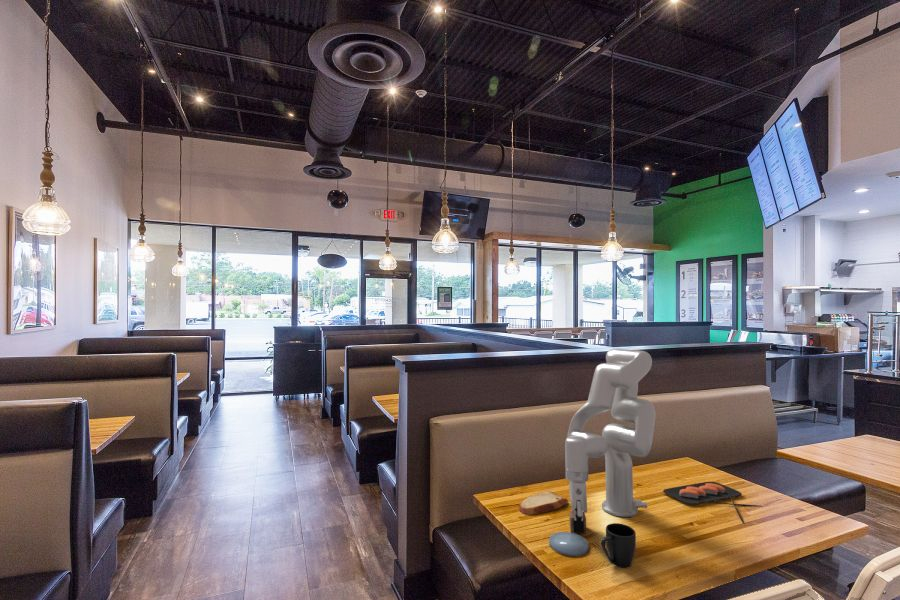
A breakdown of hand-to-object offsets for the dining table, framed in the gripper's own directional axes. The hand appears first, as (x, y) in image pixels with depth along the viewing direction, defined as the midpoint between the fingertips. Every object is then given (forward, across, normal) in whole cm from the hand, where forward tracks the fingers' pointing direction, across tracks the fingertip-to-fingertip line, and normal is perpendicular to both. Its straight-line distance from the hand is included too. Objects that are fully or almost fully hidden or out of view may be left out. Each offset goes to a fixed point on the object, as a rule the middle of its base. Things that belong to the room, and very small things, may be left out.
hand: (577, 527), depth 146 cm
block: (+1, 0, 0) cm, 1 cm away
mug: (+1, -19, -9) cm, 21 cm away
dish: (+1, -11, +4) cm, 12 cm away
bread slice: (+1, +16, +11) cm, 20 cm away
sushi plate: (+1, +31, -56) cm, 64 cm away
